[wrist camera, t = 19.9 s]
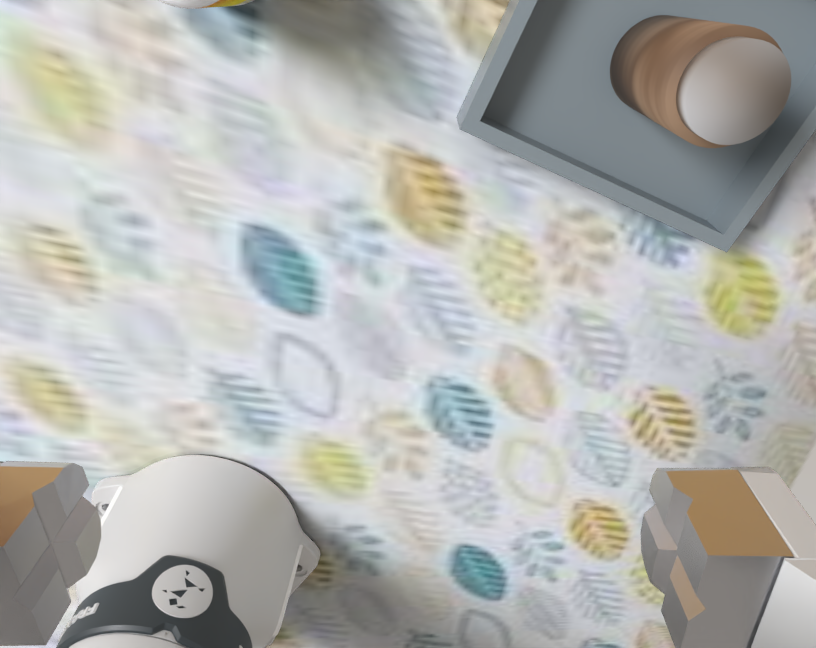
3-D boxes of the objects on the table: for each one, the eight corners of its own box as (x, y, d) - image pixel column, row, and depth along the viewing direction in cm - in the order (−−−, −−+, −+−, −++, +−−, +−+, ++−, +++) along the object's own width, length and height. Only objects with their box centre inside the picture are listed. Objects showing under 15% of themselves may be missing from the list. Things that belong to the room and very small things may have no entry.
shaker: (670, 123, 36) (754, 171, 27) (593, 92, 35) (653, 130, 26) (719, 35, 33) (828, 55, 24) (638, 0, 33) (720, 6, 24)
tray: (703, 231, 39) (726, 252, 36) (456, 117, 37) (459, 129, 34) (864, 0, 33) (908, 1, 30) (583, -159, 30) (600, -176, 27)
